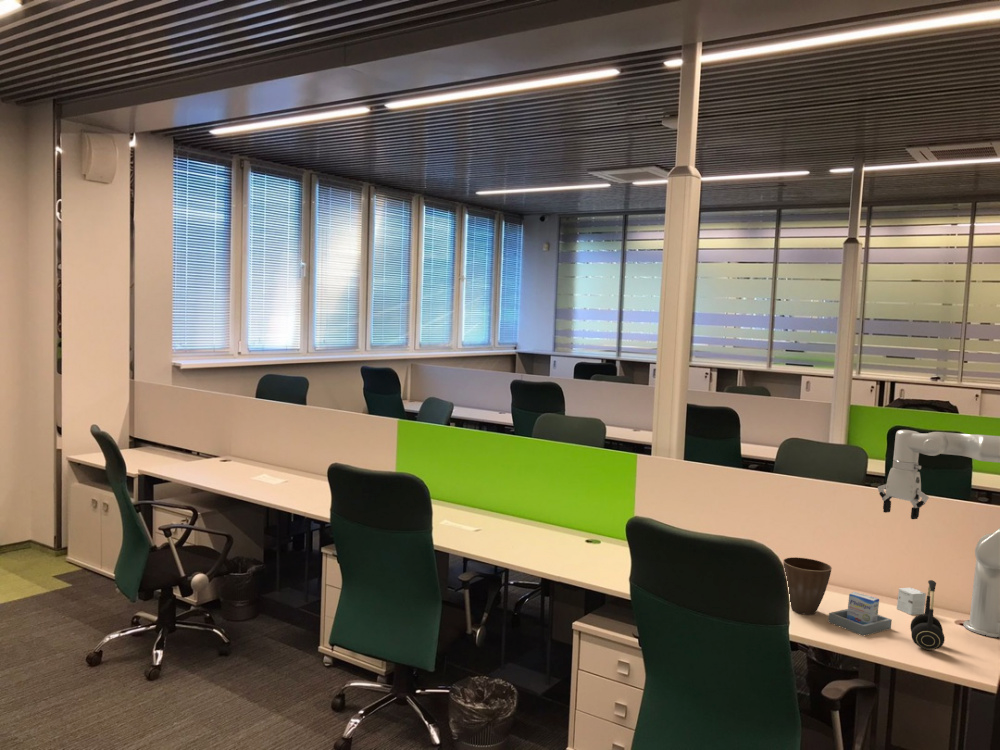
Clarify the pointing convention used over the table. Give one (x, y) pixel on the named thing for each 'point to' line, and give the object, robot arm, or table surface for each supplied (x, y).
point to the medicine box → (862, 608)
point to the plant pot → (806, 583)
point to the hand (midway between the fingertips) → (900, 515)
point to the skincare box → (911, 601)
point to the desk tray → (874, 627)
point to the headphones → (927, 625)
